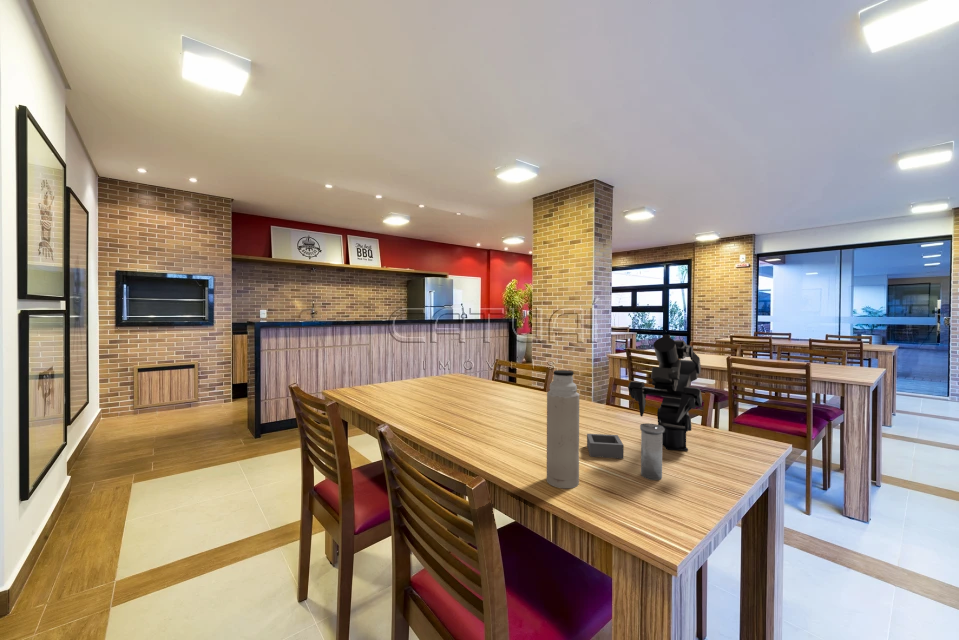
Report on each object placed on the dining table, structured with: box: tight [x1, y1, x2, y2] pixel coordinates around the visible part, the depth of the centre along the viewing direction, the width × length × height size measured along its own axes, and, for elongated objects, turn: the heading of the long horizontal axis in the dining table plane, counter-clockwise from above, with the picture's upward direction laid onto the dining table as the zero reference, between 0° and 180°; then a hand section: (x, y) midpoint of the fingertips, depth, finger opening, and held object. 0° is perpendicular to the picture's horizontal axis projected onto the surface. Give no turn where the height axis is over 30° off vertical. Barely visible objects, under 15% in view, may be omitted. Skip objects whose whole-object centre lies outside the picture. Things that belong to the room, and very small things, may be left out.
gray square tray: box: [586, 433, 625, 460], centre depth 117 cm, size 9×9×4 cm
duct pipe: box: [639, 422, 664, 481], centre depth 99 cm, size 6×6×13 cm
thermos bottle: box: [546, 369, 580, 489], centre depth 96 cm, size 8×8×28 cm
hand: (658, 418), depth 105 cm, fingers open, 9 cm apart
